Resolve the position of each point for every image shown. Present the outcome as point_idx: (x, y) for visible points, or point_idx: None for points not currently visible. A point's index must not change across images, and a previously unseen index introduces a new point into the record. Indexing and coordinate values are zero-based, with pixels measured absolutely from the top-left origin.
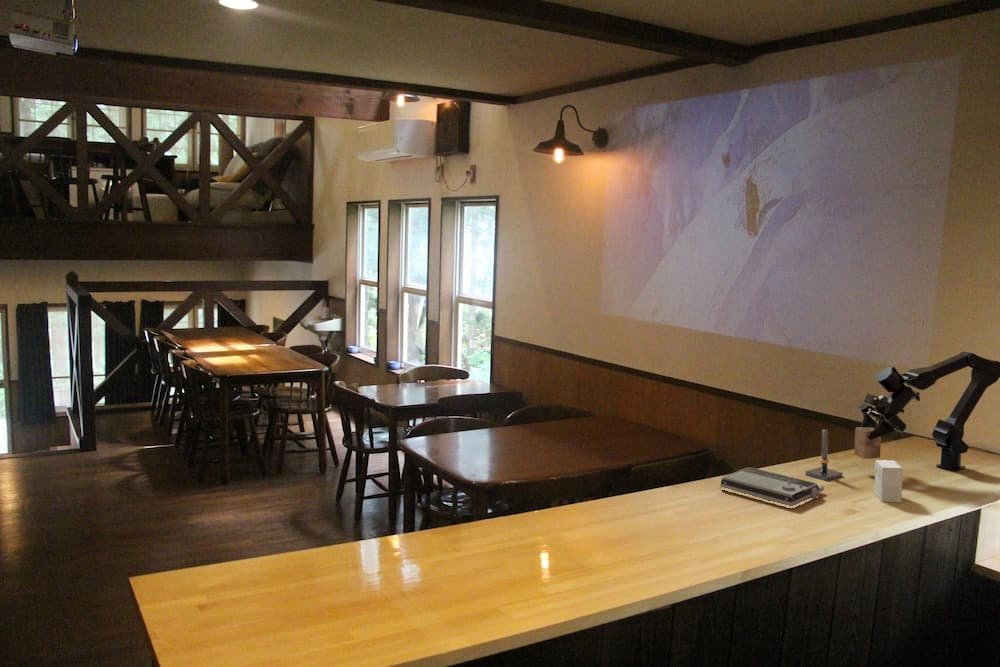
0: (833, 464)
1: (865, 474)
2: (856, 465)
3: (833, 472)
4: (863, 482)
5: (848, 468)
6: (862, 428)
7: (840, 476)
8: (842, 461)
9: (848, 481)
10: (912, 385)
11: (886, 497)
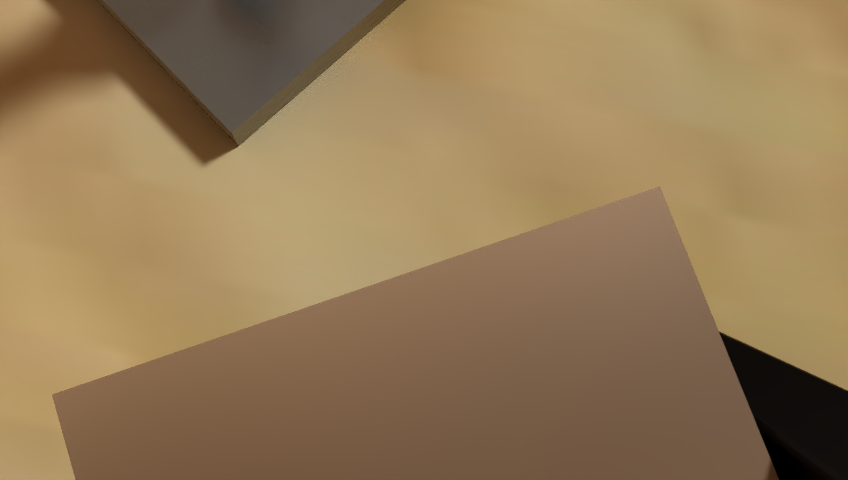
0: (682, 142)
1: None
2: None
3: (232, 35)
4: (29, 330)
5: None
6: (549, 403)
7: (213, 119)
8: (819, 263)
9: (56, 172)
10: None
11: None
